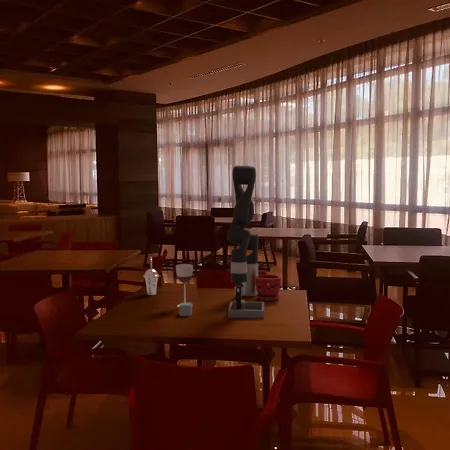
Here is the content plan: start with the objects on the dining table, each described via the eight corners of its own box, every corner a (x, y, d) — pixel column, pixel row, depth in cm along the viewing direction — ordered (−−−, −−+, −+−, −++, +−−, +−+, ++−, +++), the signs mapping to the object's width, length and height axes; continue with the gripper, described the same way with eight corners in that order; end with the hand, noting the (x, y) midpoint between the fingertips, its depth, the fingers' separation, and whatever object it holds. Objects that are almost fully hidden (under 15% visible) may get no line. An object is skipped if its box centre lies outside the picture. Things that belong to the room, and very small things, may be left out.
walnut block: (234, 310, 241) (234, 299, 241) (244, 310, 241) (244, 300, 240) (233, 313, 236) (233, 302, 236) (244, 313, 236) (244, 302, 235)
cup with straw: (141, 295, 276) (140, 258, 274) (148, 291, 285) (147, 256, 283) (155, 296, 274) (154, 259, 272) (162, 292, 282) (161, 256, 280)
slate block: (181, 313, 240) (181, 302, 240) (192, 313, 240) (191, 302, 239) (179, 316, 235) (179, 305, 235) (190, 316, 235) (190, 305, 234)
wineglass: (173, 306, 252) (172, 266, 250) (182, 302, 259) (182, 263, 257) (187, 308, 248) (186, 267, 246) (196, 304, 255) (195, 264, 254)
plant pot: (282, 301, 259) (282, 278, 258) (256, 301, 260) (255, 278, 259) (279, 295, 272) (279, 273, 271) (255, 295, 273) (254, 273, 272)
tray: (230, 308, 247) (230, 301, 246) (264, 309, 245) (264, 302, 245) (228, 317, 231) (228, 310, 230) (263, 318, 229) (263, 310, 229)
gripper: (246, 274, 229) (246, 311, 231) (247, 268, 243) (247, 303, 245) (229, 274, 230) (229, 311, 231) (231, 268, 244) (232, 303, 246)
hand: (239, 307), depth 238 cm, fingers open, 5 cm apart
